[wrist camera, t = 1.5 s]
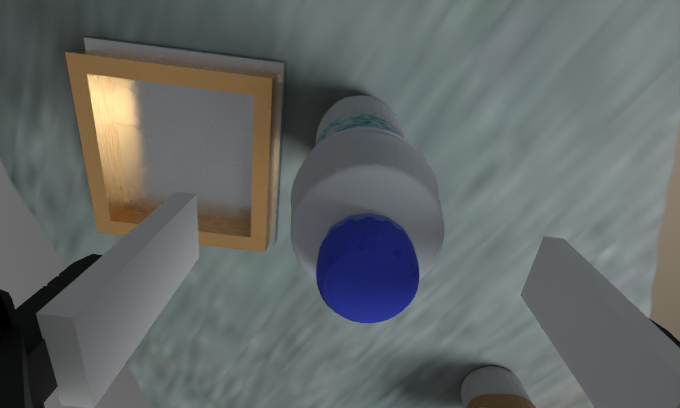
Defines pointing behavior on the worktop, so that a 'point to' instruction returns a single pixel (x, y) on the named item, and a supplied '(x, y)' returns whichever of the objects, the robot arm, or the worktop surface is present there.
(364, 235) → the bottle
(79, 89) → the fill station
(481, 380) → the coffee cup
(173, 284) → the robot arm
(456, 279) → the worktop surface
